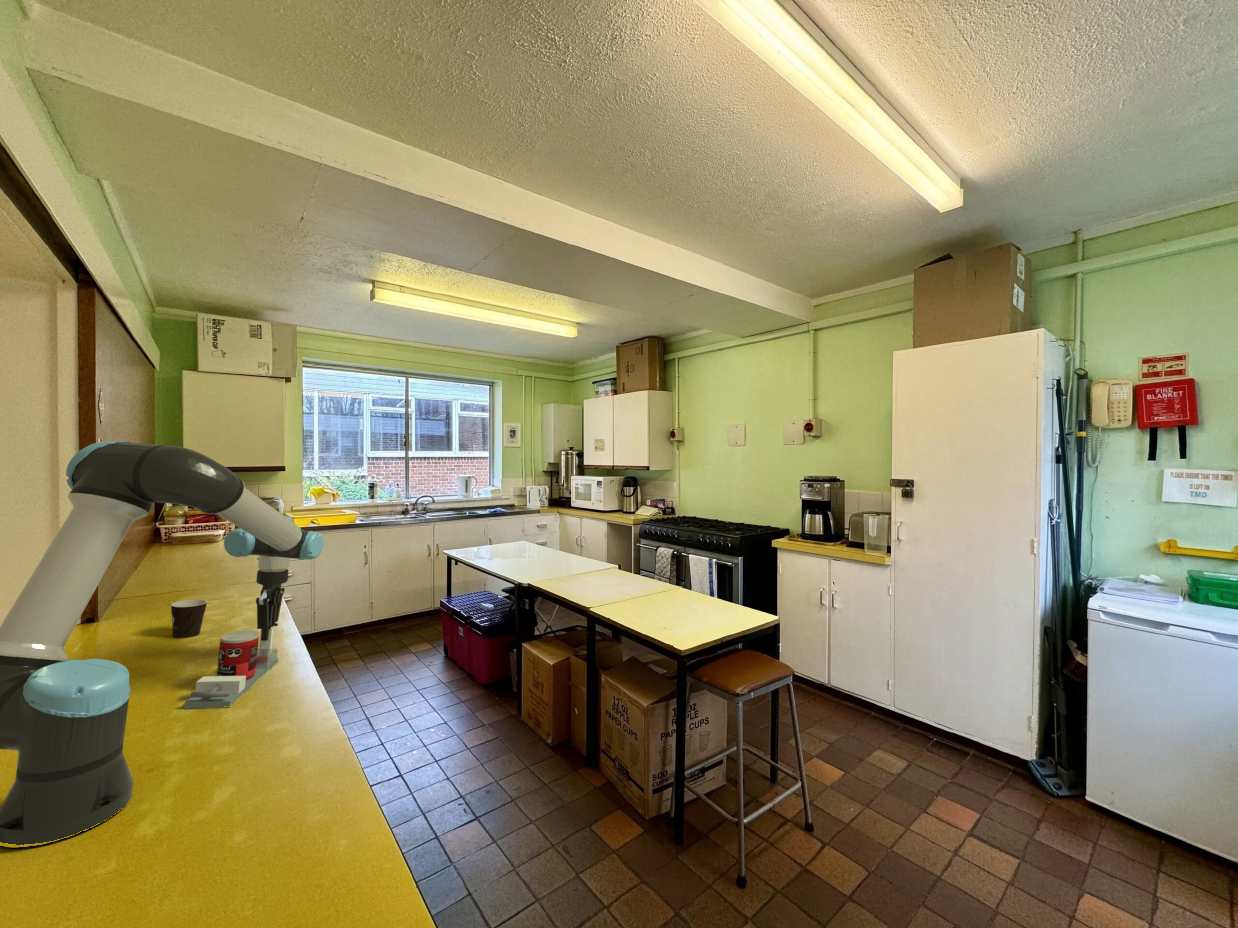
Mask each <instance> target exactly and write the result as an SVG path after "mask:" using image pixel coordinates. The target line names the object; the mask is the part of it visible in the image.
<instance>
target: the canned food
mask: <svg viewBox="0 0 1238 928" xmlns="http://www.w3.org/2000/svg"><path fill="white" fill-rule="evenodd" d="M259 643H260V632H258V631H255V630H238V631H237V630H236V631H233V632H228V633H226V634H223V635H221V636H220V640H219V647H218V659H217V669H216V670H217V671H216V676H246V680H249V679H250V678H252V677H253V676H254V674H255V672H256V662H257V652H258V649H259Z"/></svg>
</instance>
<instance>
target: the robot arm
mask: <svg viewBox="0 0 1238 928" xmlns="http://www.w3.org/2000/svg"><path fill="white" fill-rule="evenodd" d="M65 476H66V477H67V479H66V483H67V485H68V487H69V488H70V492H69V493H68V495H67V498H68V500H69V502H70V504H71V505H72V509H71V511H70V512H69V514H68V516H67V517H66V519H65V520H64V522H63V524H62V525H61V527H60V529H59V530H58V532H57V534H56V535H55V537H54V539H53V540H52V542H51V543H50V545H49V547H48V548H47V549H46V551H45V553H44V555H43V556H42V558H41V560H40V561H39V563H38V565H37V566H36V567H35V568H34V569H35V570H34V571H33V573H32V575H31V576H30V578H29V579H28V581H27V583H25V585H24V587H23V589H22V591H21V592H20V594H19V595H18V597H17V599H16V600H15V602H14V603H13V605H12V607H11V608H10V610H9V612H8V613H7V615H6V617H5V618H4V619H3V621H2V623H1V624H0V750H11V751H17V761H16V773H15V779H14V781H13V783H12V785H11V786H10V789H9V791H8V793H7V795H6V796H5V799H4V801H3V802H2V804H1V805H0V842H2V843H8V844H16V845H21V844H22V845H24V844H35V843H43V842H49V841H54V840H57V839H61V838H64V837H67V836H70V835H73V834H76V833H78V832H80V831H83V830H85V829H88V828H90V827H92V826H94V825H96V824H98V823H101V822H103V821H104V820H106V819H108V818H110V817H111V816H113V815H114V814H115V813H117V812H118V811H119V810H121V808H123V807H124V806H125V805H126V804H127V803H128V801H129V800H130V799H132V798H131V796H132V797H133V791H134V779H133V776H132V773H131V770H130V768H129V766H128V764H127V760H126V757H125V755H124V751H123V750H124V742H125V733H126V726H127V717H128V710H129V709H128V708H129V701H130V696H131V686H130V673H129V672H130V671H129V670H128V669H127V667H126V666H125V665H123V664H122V663H119V662H117V661H115V660H114V661H113V660H110V659H101V658H87V659H84V660H81V659H79V658H78V659H71V660H70V658H69V657H68V655H67V653H66V652H65V648H64V647H65V646H66V644H67V641H68V640H69V638H70V636H71V635H72V633H73V631H74V629H75V627H76V625H77V624H78V621H80V618H81V617H82V615H83V613H84V611H85V609H86V608H87V605H88V603H89V602H90V600H91V599H92V596H93V595H94V593H95V591H96V590H97V587H98V586H99V584H100V582H101V580H102V578H103V576H104V575H105V574H106V571H107V570H108V568H109V566H110V563H111V562H112V560H113V558H114V556H115V555H116V553H117V551H118V549H119V548H120V546H121V544H122V542H123V540H124V538H125V537H126V535H127V534H128V532H129V529H130V527H131V526H132V524H133V523H134V522H135V521H137V520H139V519H142V518H146V517H147V516H148V515H149V514H150V512H151V510H152V508H153V505H154V504H157V503H158V504H171V505H179V506H185V507H191V508H194V509H196V510H198V511H200V512H201V513H204V514H207V515H217V516H219V517H221V518H222V519H224V520H226V522H227V521H228V523H230V524H232V525H234V526H236V527H238V528H236V529H235V528H234V529H233V530H231V531H229V532H228V533H227V534H226V536H225V537H224V541H223V546H224V550H225V551H226V553H227V554H229V556H232V557H234V558H240V557H244V558H245V557H249V556H258V557H257V558H256V560H257V562H258V563H257V568H258V569H259V570H257V572H256V579H255V580H256V584H258V585H261V586H262V588H261V590H260V597H256V599H255V604H256V620H257V621H256V622H257V623H256V626H257V627H256V629H257V630H260V634H259V644H258V649H273V640H274V631H275V627H277V626H279V623H277V622H279V619H280V618H279V617H280V611H281V606H282V601H283V596H284V593H285V587H282V584H286V583H287V582H288V581H289V573H290V572H289V571H290V570H289V568H290V561H291V559H297V560H300V561H302V560H314V559H317V558H318V557H319V556H320V555H321V553H322V552H323V549H324V546H325V544H324V543H325V539H324V536H323V535H322V533H321V532H317V531H313V530H304V529H302V528H301V527H299V526H298V525H297V524H296V523H294V519H293V518H292V517H291V516H289V515H283V514H282V513H280V511H278V510H277V509H275V508H274V507H272V506H271V505H270V504H267V502H265V501H264V500H263V499H261V498H260V497H259V496H257V495H256V494H254V493H253V492H252V491H251V490H249V489H248V488H246V487H245V482H244V480H243V479H242V477H240V476H238V475H237V474H236V473H234V471H232V470H230V469H229V468H227V467H226V466H224V465H223V464H222V463H219V462H217V461H216V460H214V459H213V458H210V457H209V456H207V455H205V454H202V452H201V453H200V452H198V451H196V450H193V449H191V448H187V447H184V446H183V447H182V446H178V445H165V444H156V443H155V444H154V443H143V442H142V443H141V442H134V441H129V440H116V441H115V440H113V441H111V440H110V441H109V440H108V441H99V442H96V443H92V444H89V445H87V446H85V447H84V448H82V449H80V450H78V452H77V453H75V454H74V455H73V456H72V458H71V459H70V460H69V462H68V464H67V466H66V470H65ZM130 801H131V800H130ZM130 801H129V802H130ZM128 804H129V803H128ZM128 804H127V805H128ZM127 805H126V806H127ZM126 806H125V807H126ZM125 807H124V808H125ZM124 808H123V809H124ZM121 811H122V810H121ZM117 814H118V813H117ZM113 817H114V816H113ZM110 819H111V818H110ZM108 820H109V819H108ZM103 823H104V822H103Z"/></svg>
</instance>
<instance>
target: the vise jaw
mask: <svg viewBox="0 0 1238 928" xmlns="http://www.w3.org/2000/svg"><path fill="white" fill-rule="evenodd" d="M277 658H278V648H272V649H259V648H258V652H257V662H256V668H267V667H268V666H270V665H271V664H272V663H273V662H274V661H275V660H276V659H277Z"/></svg>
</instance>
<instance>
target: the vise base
mask: <svg viewBox="0 0 1238 928" xmlns="http://www.w3.org/2000/svg"><path fill="white" fill-rule="evenodd" d="M276 663H279V657H277V659H276V660H275V661H274V662H273V663H272V664H271V665H270V666H268V667H267V668H256V672H255V674H254V676H253V677H252V678H250V679H249V680H246V676H217V675H211V676H210V675H207V676H202V677H201V678H199V679H198V680H197V681H196V682H195V683H196V684H195V691H192V692H190V695H189V697H190V698H188V699H187V700H186V701H184V704H183V705H184V706H183V709H184V710H191V708H199V709H209V708H208V707H224V706H225V707H226V706H227V707H229V706H230V705H231V704H232V703H234V701H236V700H237V699H238V698H239V697H240V696H241V695H242V694H244V693H245V692H246V691H247V690H248V689H249V688H250V687H251V686H252V685H253V684H254V683H255V682H256V681H257V680H258V679H259V678H260V677H262V676H263V675H264V674H265V673H266V672H267V671H268V670H269V669H271V668H272V667H273V666H274V665H275V664H276ZM276 665H277V664H276ZM276 665H275V666H276ZM275 666H274V667H275ZM274 667H273V668H274ZM273 668H272V669H273ZM272 669H271V670H272ZM264 676H265V675H264ZM264 676H263V677H264ZM263 677H262V678H263ZM253 686H254V685H253ZM253 686H252V687H253ZM252 687H251V688H252ZM251 688H250V689H251ZM250 689H249V690H250ZM249 690H248V691H249ZM248 691H247V692H248ZM247 692H246V693H247ZM246 693H245V694H246ZM245 694H244V695H245ZM241 697H242V696H241ZM241 697H240V698H241ZM240 698H239V699H240ZM239 699H238V700H239ZM238 700H237V701H238ZM237 701H236V702H237ZM234 704H235V703H234ZM206 707H207V708H206ZM230 707H231V706H230ZM230 707H229V708H230Z"/></svg>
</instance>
